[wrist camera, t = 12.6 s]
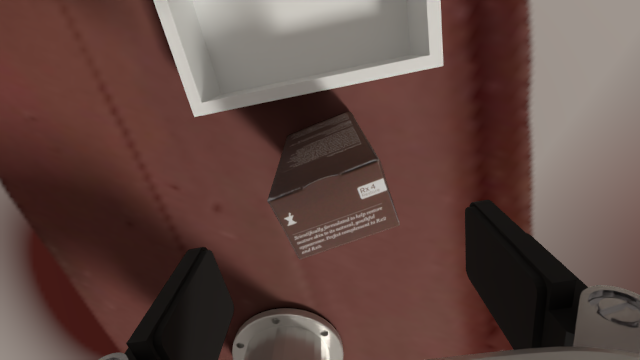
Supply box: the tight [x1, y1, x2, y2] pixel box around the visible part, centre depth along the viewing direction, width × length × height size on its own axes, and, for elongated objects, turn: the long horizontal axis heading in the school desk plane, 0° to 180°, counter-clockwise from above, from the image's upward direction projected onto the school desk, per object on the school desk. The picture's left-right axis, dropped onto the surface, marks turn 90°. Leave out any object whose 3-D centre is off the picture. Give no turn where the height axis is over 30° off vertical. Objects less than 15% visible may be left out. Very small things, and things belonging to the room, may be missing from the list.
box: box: [268, 112, 399, 259], centre depth 21 cm, size 6×4×12 cm
